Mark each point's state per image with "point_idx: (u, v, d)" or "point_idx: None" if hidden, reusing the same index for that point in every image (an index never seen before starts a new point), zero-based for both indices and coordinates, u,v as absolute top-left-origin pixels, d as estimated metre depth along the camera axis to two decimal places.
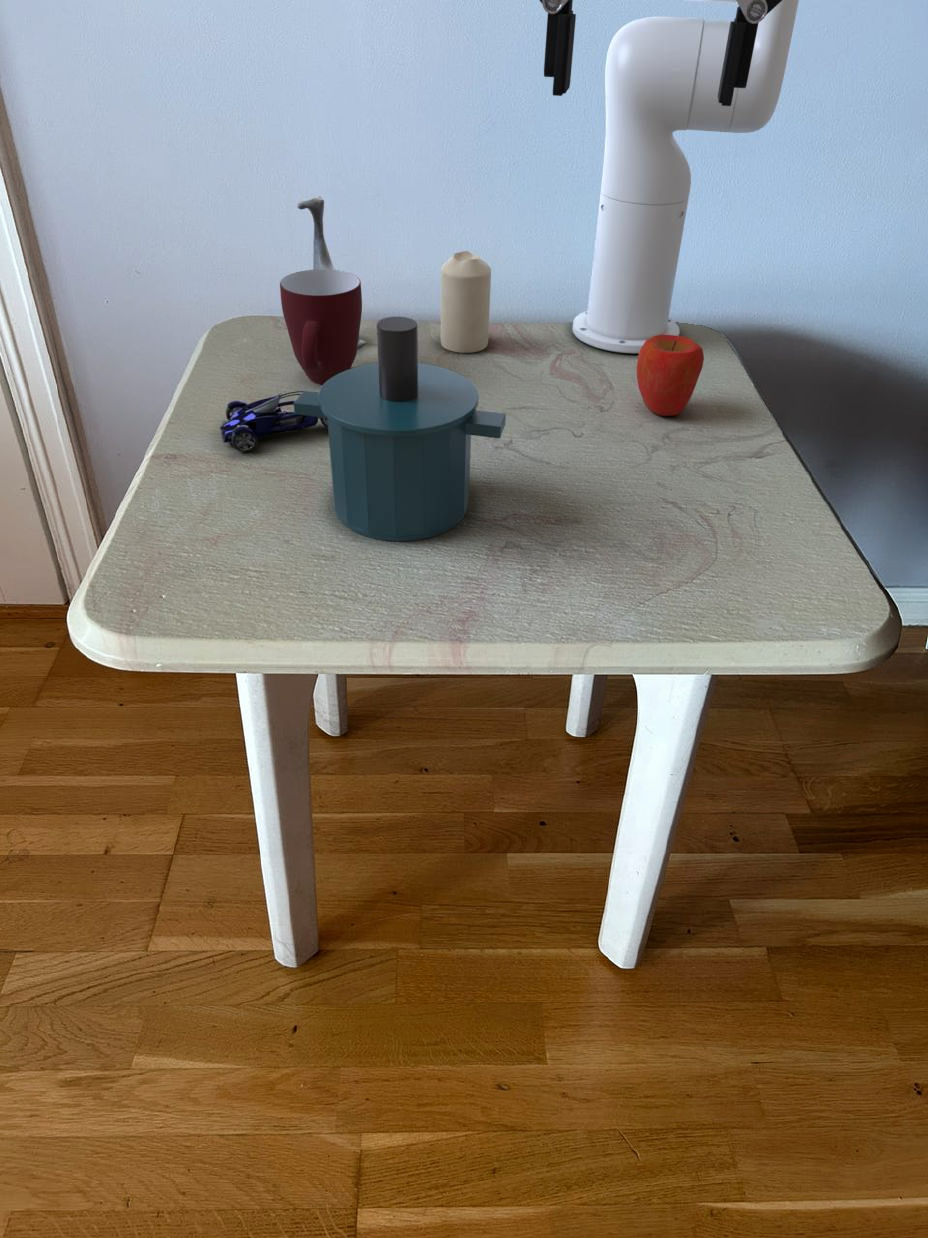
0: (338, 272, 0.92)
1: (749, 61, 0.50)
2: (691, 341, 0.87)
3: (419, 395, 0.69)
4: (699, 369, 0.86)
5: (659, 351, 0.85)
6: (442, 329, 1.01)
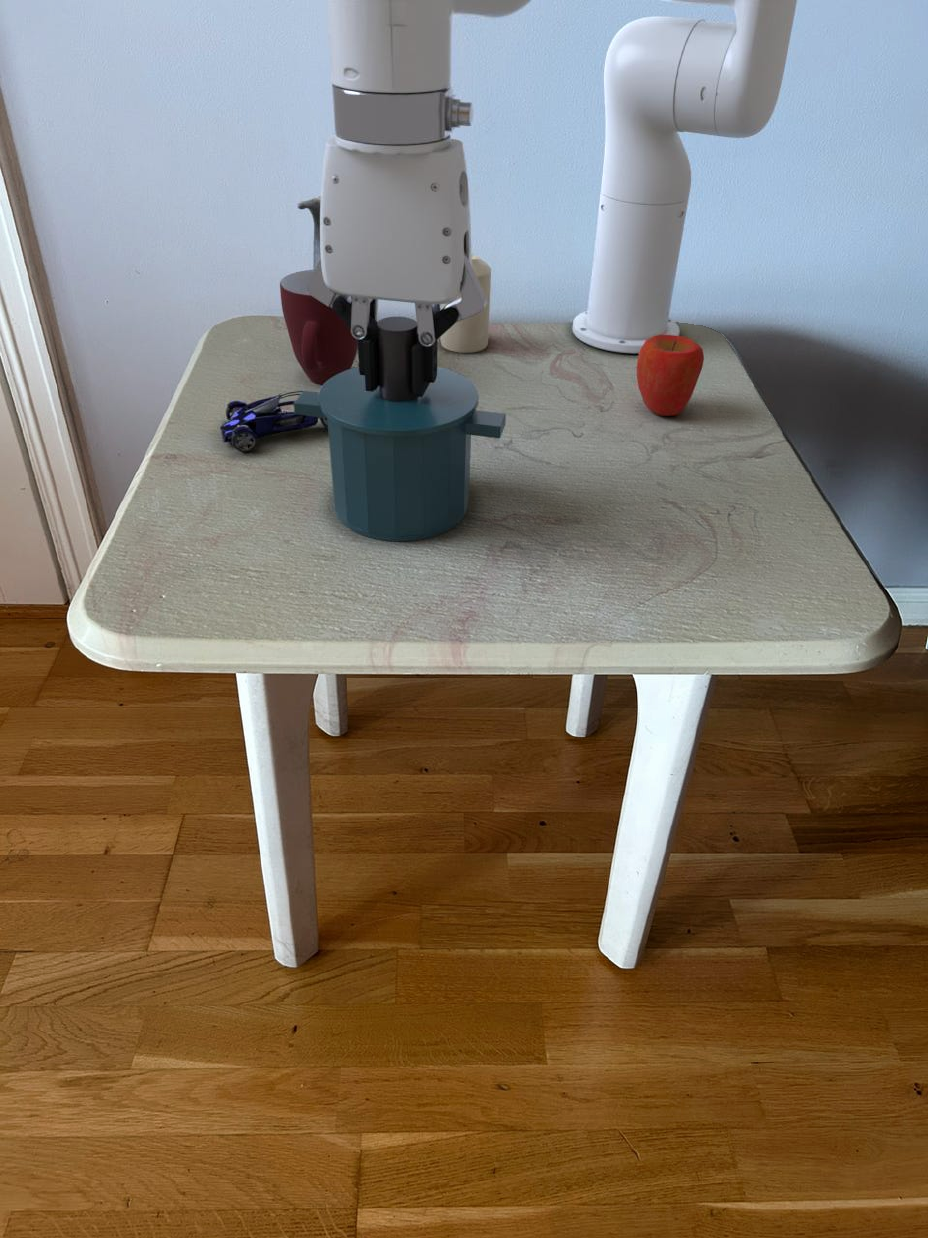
0: None
1: (431, 368, 0.67)
2: (691, 341, 0.87)
3: None
4: (699, 369, 0.86)
5: (659, 351, 0.85)
6: None
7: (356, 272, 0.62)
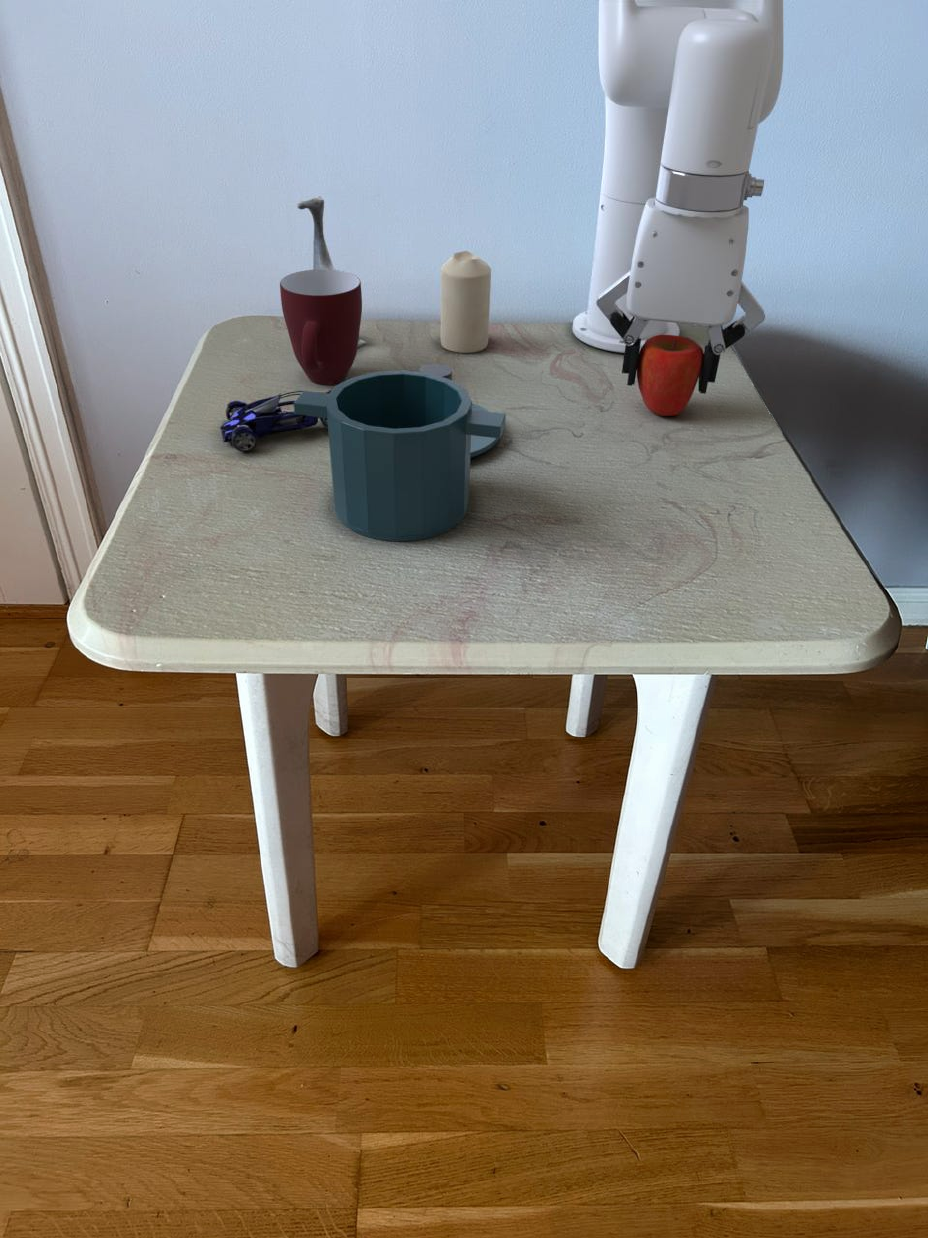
0: (338, 272, 0.92)
1: (716, 371, 0.87)
2: (692, 341, 0.87)
3: None
4: (700, 369, 0.86)
5: (659, 351, 0.85)
6: (442, 329, 1.01)
7: (656, 302, 0.82)
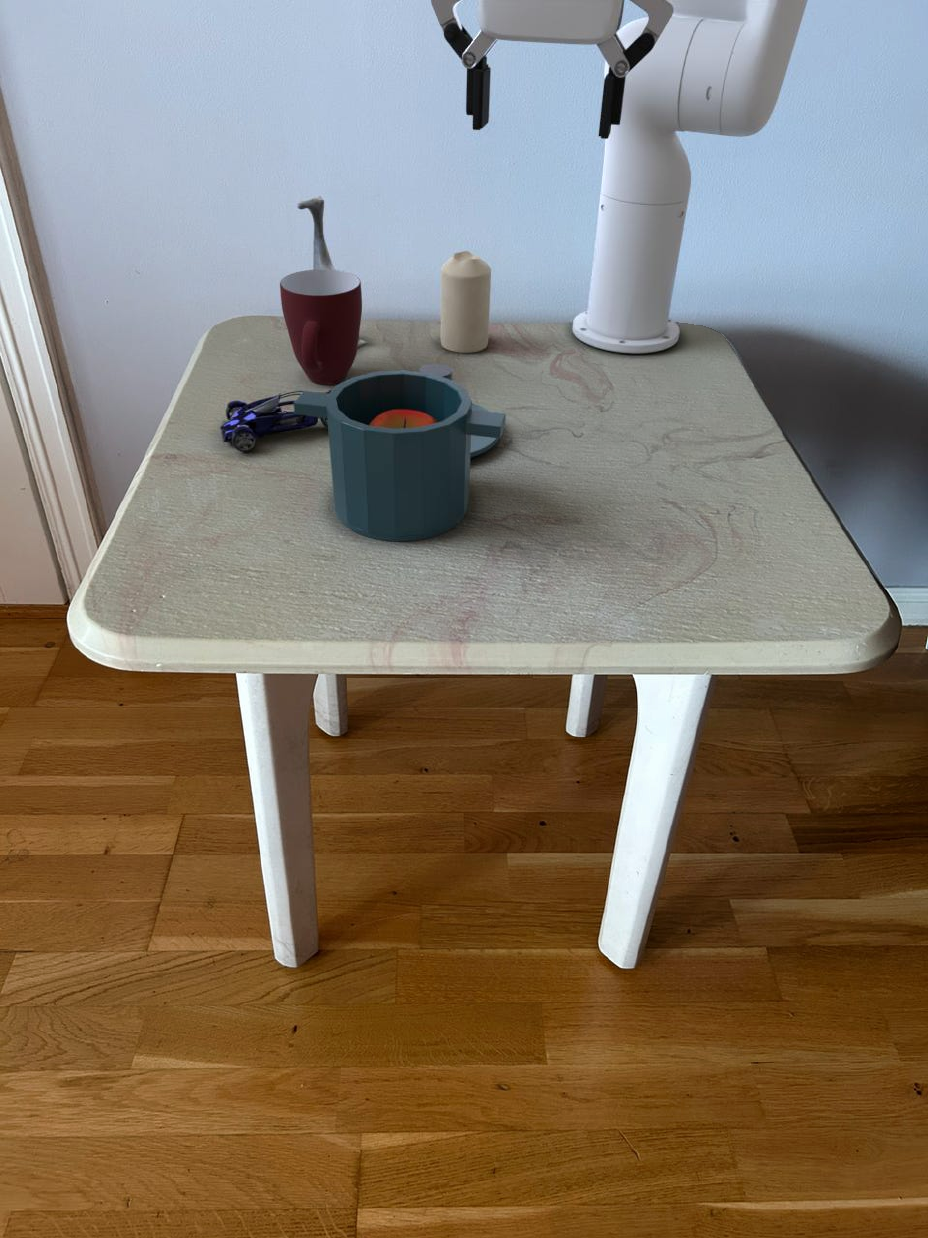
0: (338, 272, 0.92)
1: (620, 105, 0.66)
2: (429, 419, 0.72)
3: None
4: None
5: None
6: (442, 329, 1.01)
7: (515, 8, 0.62)
